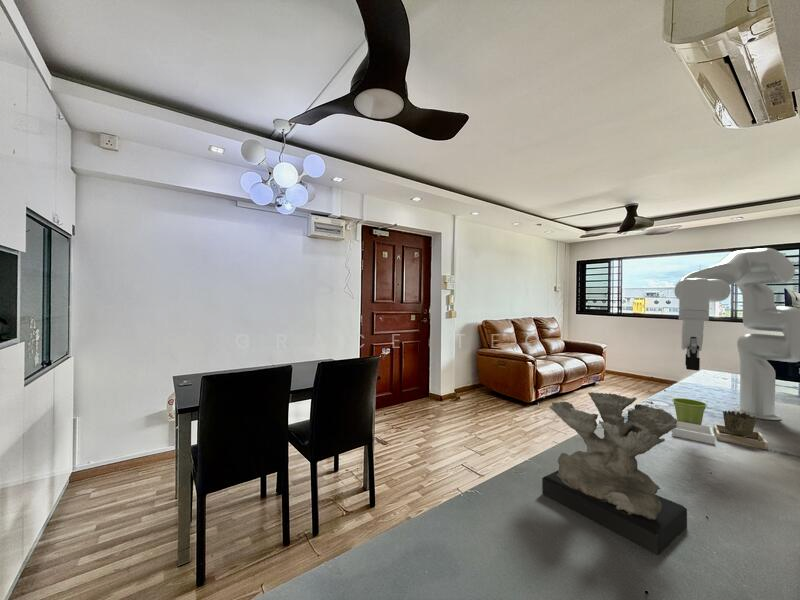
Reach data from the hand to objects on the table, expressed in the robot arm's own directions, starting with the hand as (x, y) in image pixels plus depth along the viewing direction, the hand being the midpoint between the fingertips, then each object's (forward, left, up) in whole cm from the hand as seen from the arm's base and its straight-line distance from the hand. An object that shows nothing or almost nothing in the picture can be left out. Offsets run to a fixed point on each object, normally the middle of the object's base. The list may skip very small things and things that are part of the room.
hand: (692, 368), depth 112 cm
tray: (+2, 0, -22) cm, 22 cm away
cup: (-4, +12, -22) cm, 25 cm away
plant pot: (-8, 0, -22) cm, 23 cm away
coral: (+63, -16, -22) cm, 68 cm away
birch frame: (-4, +12, -22) cm, 25 cm away
